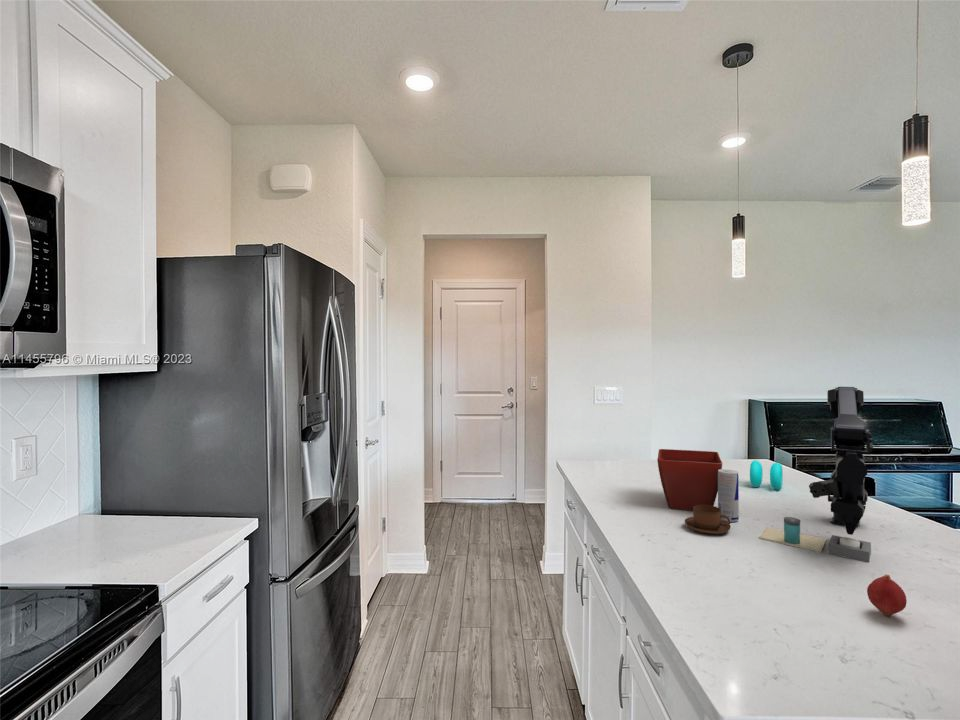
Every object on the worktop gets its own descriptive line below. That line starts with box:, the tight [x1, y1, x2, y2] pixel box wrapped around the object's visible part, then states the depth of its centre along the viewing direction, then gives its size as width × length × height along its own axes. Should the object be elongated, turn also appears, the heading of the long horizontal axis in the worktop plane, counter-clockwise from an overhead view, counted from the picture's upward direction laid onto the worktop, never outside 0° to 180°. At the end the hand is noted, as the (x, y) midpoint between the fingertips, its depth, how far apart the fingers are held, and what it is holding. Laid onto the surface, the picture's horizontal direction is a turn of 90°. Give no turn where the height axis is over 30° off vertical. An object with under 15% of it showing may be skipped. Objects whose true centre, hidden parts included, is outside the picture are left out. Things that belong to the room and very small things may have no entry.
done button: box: [840, 536, 860, 548], centre depth 122 cm, size 4×4×3 cm
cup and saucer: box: [684, 505, 732, 535], centre depth 139 cm, size 12×12×6 cm
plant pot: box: [657, 448, 723, 512], centre depth 162 cm, size 19×19×17 cm
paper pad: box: [758, 526, 827, 553], centre depth 131 cm, size 10×14×1 cm
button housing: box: [827, 534, 872, 563], centre depth 122 cm, size 8×8×2 cm
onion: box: [866, 573, 907, 617], centre depth 93 cm, size 6×6×8 cm
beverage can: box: [717, 468, 740, 523], centre depth 147 cm, size 6×6×15 cm
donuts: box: [749, 460, 784, 491], centre depth 182 cm, size 10×10×10 cm
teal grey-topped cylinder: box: [783, 516, 801, 544], centre depth 129 cm, size 4×4×6 cm
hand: (849, 534), depth 123 cm, fingers closed
